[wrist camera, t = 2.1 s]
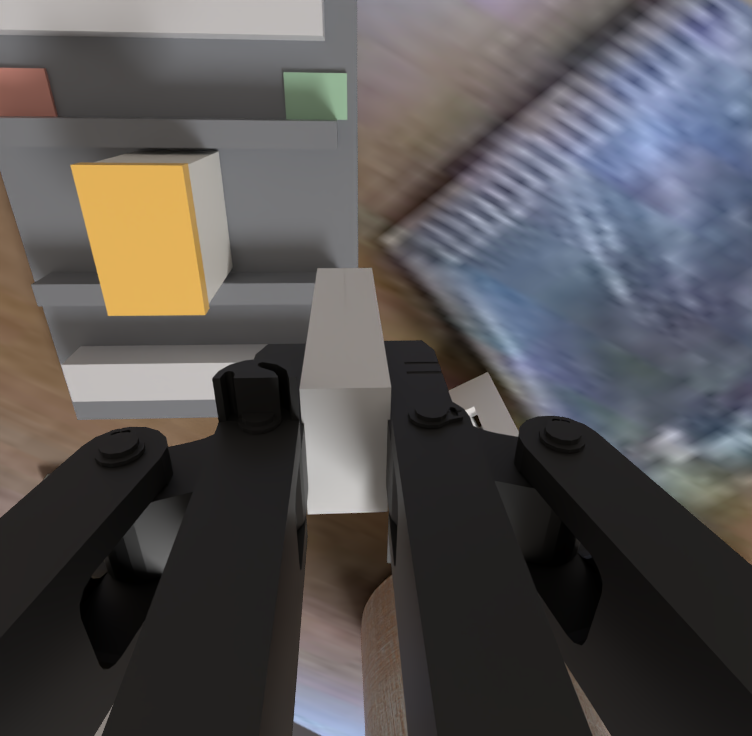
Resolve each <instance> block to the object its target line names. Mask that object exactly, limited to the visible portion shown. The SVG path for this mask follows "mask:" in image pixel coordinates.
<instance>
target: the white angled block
mask: <svg viewBox="0 0 752 736" xmlns="http://www.w3.org/2000/svg"><path fill="white" fill-rule="evenodd" d="M449 394H450V397H451V399H452V402H454V403H456V404H457V405H459V406H461V407H462V408H464V410H465V411H466V412H467V414H468V415H469V416H470V419H471V421H472V424H473V426H475V427H478V425H477V423H476V421H475V419H474V418H473V416H476V415H478V417H479V420H480V422H481V425H482V426H481V427H478V428H480V429H483V430H486V431H490V432H494V433H499V434H505V435H511V436H516V437H518V434H519V432H518V430H517V428H516V426H515V424H514V422H513V420H512V418H511V416H510V414H509V412H508V410H507V408H506V406H505V404H504V402H503V400H502V398H501V397H500V395H499V393H498V391H497V389H496V387H495V385H494V383H493V381H492V379H491V377H490V375H489V373H488V372H486V373H484V374H482V375H480V376H478V377H476V378H474V379H472V380H470V381H468V382H465V383H463V384H461V385H459V386H457V387H455V388H453V389H451V390H449Z"/></svg>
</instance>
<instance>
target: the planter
mask: <svg viewBox="0 0 752 736" xmlns="http://www.w3.org/2000/svg"><path fill="white" fill-rule="evenodd" d="M361 650H362V673H363V694H364V715H365V736H408V731H407V721H406V711H405V700H404V690H403V680H402V670H401V659H400V649H399V639H398V629H397V619H396V608H395V598H394V588H393V578H392V574H391V575H390V576H389V577H388V578H386V579H385V580H384V581H383V582H382V583H381V584H380V585H379V586H378V587H377V588H376V589H375V590H374V592H373V593H372V594H371V596H370V598H369V599H368V601H367V603H366V605H365V608H364V611H363V615H362V623H361ZM564 663H565V662H564ZM565 665H566V664H565ZM566 668H567V670H568V673H569V676H570V678H571V681H572V683H573V686H574V689H575V691H576V694H577V696H578V699H579V701H580V704H581V707H582V709H583V712H584V714H585V717H586V720H587V722H588V725H589V727H590V730H591V733H592V735H593V736H607V733H606V731H605V728H604V726H603V723H602V721H601V719H600V717H599V716H598V714H597V712H596V711H595V709H594V708H593V706H592V705H591V703H590V701H589V700H588V698H587V697H586V695H585V694H584V692H583V690H582V689H581V687H580V686H579V684H578V683H577V681H576V680H575V678H574V676H573V675H572V673H571V672H570V670H569V669H568V667H567V665H566Z"/></svg>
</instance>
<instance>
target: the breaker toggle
mask: <svg viewBox="0 0 752 736" xmlns="http://www.w3.org/2000/svg"><path fill="white" fill-rule="evenodd" d="M70 166H71V170H72V174H73V178H74V182H75V185H76V189H77V193H78V197H79V201H80V205H81V209H82V213H83V217H84V221H85V225H86V229H87V233H88V237H89V241H90V245H91V249H92V253H93V257H94V261H95V265H96V269H97V273H98V277H99V281H100V285H101V289H102V293H103V297H104V301H105V305H106V309H107V313H108V316H158V315H206V313H207V312H208V310H209V309H210V308H209V303H210V301H211V300H212V298H213V297H214V295H215V294H216V292H217V291H218V289H219V288H220V286H221V284H222V283H223V281H224V280H225V278H226V277H227V275H228V274H229V272H230V271H231V269H232V268H233V265H232V257H231V249H230V241H229V233H228V224H227V216H226V208H225V200H224V192H223V183H222V175H221V167H220V159H219V151H134V152H131V153H127V154H123V155H119V156H116V157H112V158H108V159H104V160H101V161H97V162H93V163H90V162H80V163H76V164H72V165H70Z"/></svg>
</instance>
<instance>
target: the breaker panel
mask: <svg viewBox="0 0 752 736" xmlns="http://www.w3.org/2000/svg"><path fill="white" fill-rule="evenodd" d="M134 151H219V159H220V167H221V175H222V183H223V192H224V200H225V208H226V216H227V224H228V233H229V241H230V249H231V257H232V265H233V268H232V269H231V271H230V272H229V274H228V275H227V277H226V278H225V280H224V281H223V283H222V284H221V286H220V288H219V289H218V291H217V292H216V294H215V295H214V297H213V298H212V300H211V301H210V303H209V308H210V309H209V310H208V312H207V313H206V315H158V316H108V313H107V309H106V305H105V301H104V297H103V293H102V289H101V285H100V281H99V277H98V273H97V269H96V265H95V261H94V257H93V253H92V249H91V245H90V241H89V237H88V233H87V229H86V225H85V221H84V217H83V213H82V209H81V205H80V201H79V197H78V193H77V189H76V185H75V182H74V178H73V174H72V170H71V166H70V165H72V164H76V163H80V162H90V163H93V162H97V161H101V160H104V159H108V158H112V157H116V156H119V155H123V154H127V153H131V152H134ZM0 172H1V175H2V178H3V181H4V185H5V188H6V191H7V194H8V197H9V201H10V204H11V207H12V210H13V213H14V217H15V220H16V223H17V226H18V229H19V233H20V236H21V239H22V242H23V246H24V249H25V252H26V255H27V258H28V262H29V265H30V268H31V271H32V274H33V278H34V281H35V283H33V284H31V286H32V289H33V292H34V295H35V298H36V302H37V305H38V306H42V307H43V310H44V313H45V316H46V319H47V323H48V326H49V329H50V332H51V335H52V339H53V342H54V345H55V348H56V351H57V355H58V358H59V361H60V364H61V367H62V371H63V374H64V377H65V380H66V384H67V387H68V390H69V393H70V396H71V400H72V403H73V406H74V409H75V412H76V416H77V419H78V420H87V419H143V418H200V417H218V414H217V407H216V401H215V395H214V388H213V382H212V378H213V377H214V376H215V374H216V373H217V372H218V371H219V370H221V369H223V368H225V367H227V366H228V365H230V364H234V363H237V362H241V361H244V360H253V359H254V357H255V354H257V353H258V352H259V351H260V350H261V349H263V348H264V347H265V346H266V345H268V344H306V341H307V335H308V328H309V321H310V315H311V308H312V301H313V294H314V288H315V281H316V274H317V268H358V140H357V0H0Z"/></svg>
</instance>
